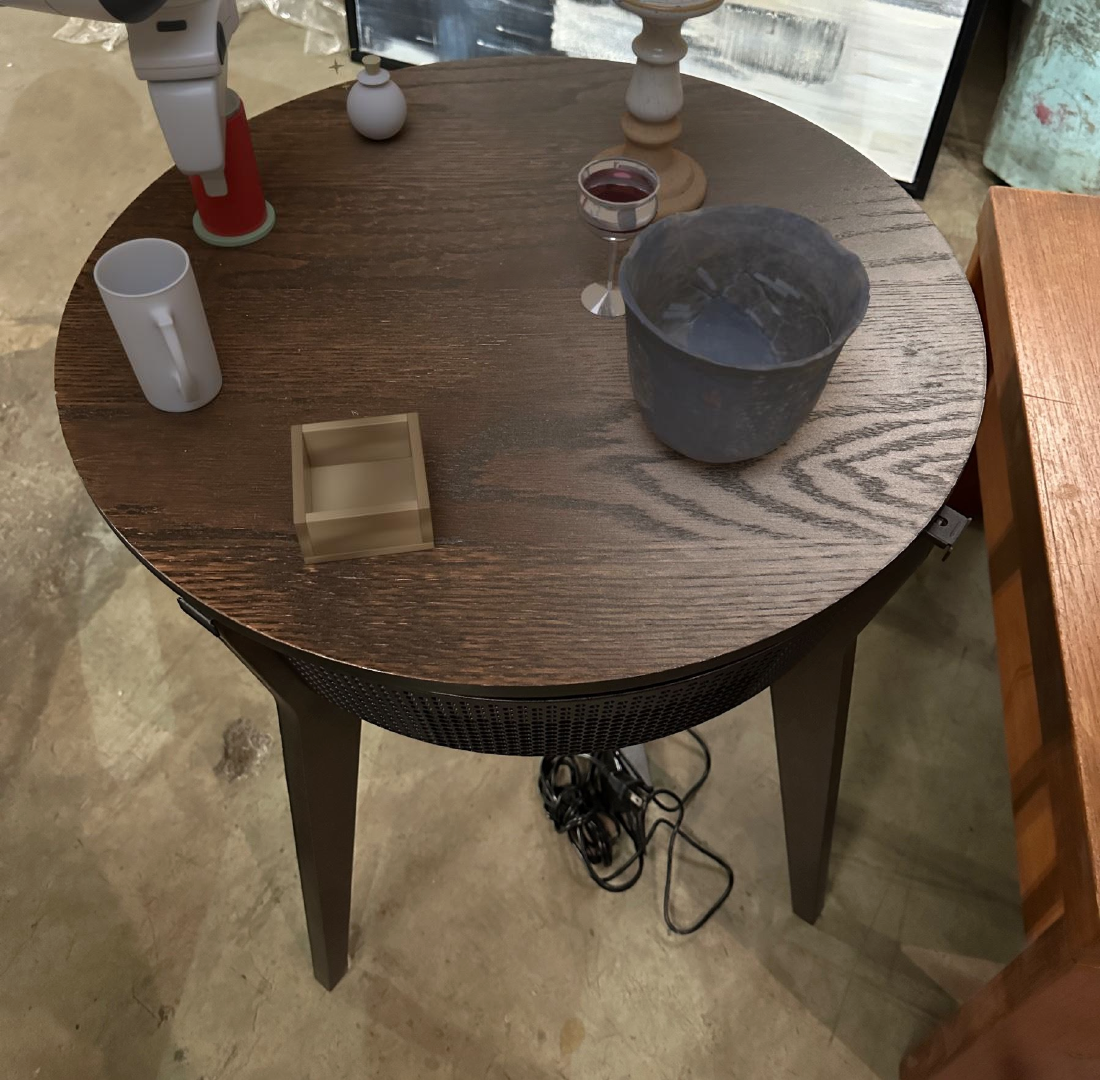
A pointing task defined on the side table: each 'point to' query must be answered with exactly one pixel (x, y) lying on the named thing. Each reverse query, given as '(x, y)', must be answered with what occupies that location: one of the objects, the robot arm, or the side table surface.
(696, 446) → the dark grey metal pot
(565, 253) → the side table surface
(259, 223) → the can
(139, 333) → the mug
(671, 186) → the candle holder
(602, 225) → the wineglass
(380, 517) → the holder
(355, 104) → the ornament
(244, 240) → the coaster
